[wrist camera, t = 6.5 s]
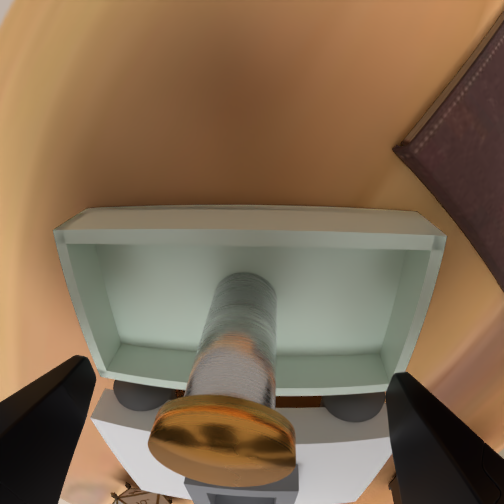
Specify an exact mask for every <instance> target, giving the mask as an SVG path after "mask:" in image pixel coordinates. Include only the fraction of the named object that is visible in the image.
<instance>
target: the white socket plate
mask: <svg viewBox="0 0 504 504" xmlns="http://www.w3.org/2000/svg"><path fill="white" fill-rule="evenodd" d="M113 389H114V390H110V389H106V388H105V390H104V392H103V394H102V395H101V397H100V399H99V401H98V403H97V405H96V407H95V409H94V411H93V413H92V415H91V417H90V418H91V420H92V421H93V423H94V425H95V426H96V428H97V429H98V431H99V432H100V434H101V435H102V437H103V439H104V440H105V442H106V443H107V444H108V446H109V447H110V449H111V450H112V452H113V453H114V455H115V456H116V457H117V459H118V460H119V462H120V463H121V464H122V466H123V467H124V468H125V470H126V471H127V472H128V474H129V475H130V476H131V478H132V479H133V480H134V481H135V483H136V484H137V485H138V486H139V488H140V489H141V490H144V491H148V492H153V493H157V494H162V495H167V496H172V497H178V498H184V499H190V500H193V502H194V504H339V503H348V502H355V501H356V500H357V499H358V498H359V497H360V495H361V494H362V493H363V492H364V490H365V489H366V488H367V487H368V485H369V484H370V483H371V482H372V480H373V479H374V478H375V476H376V475H377V474H378V472H379V471H380V470H381V468H382V467H383V465H384V464H385V463H386V461H387V460H388V458H389V457H390V456H391V454H392V449H391V444H390V436H389V426H388V416H387V407H386V403H384V402H385V391H384V392H374V393H361V394H346V395H324V396H322V398H321V403H320V407H317V408H275V411H277V412H279V413H280V414H282V415H283V416H284V417H285V418H287V419H288V420H289V421H290V423H291V424H292V425H293V427H294V429H295V434H296V466H295V468H294V470H293V471H292V473H291V474H289V475H288V476H287V477H285V478H283V479H281V480H279V481H276V482H273V483H270V484H266V485H260V486H252V487H228V486H219V485H213V484H208V483H203V482H199V481H196V480H193V479H190V478H187V477H184V476H182V475H180V474H177V473H175V472H173V471H172V470H170V469H168V468H166V467H165V466H164V465H162V464H161V463H160V462H158V461H157V460H156V459H155V458H154V457H153V455H152V454H151V453H150V451H149V448H148V439H149V436H150V433H151V430H152V427H153V424H154V421H155V418H156V415H157V413H158V411H159V409H160V408H161V407H162V406H163V405H164V404H166V403H167V402H169V401H171V400H173V399H176V398H177V397H176V392H175V389H172V388H164V387H157V386H150V385H144V384H138V383H132V382H126V381H120V380H115V381H114V386H113Z"/></svg>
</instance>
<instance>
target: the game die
mask: <svg viewBox="0 0 504 504" xmlns="http://www.w3.org/2000/svg"><path fill="white" fill-rule="evenodd" d="M125 486H126V487H127V488H128V489H127V490H126V491H125V492H123V493H122V494H121V495H119V496H117V494H115V493H111V497H113V498H115V500H114V502H113V504H171V503H172V500H170V499H169V500H168V499H167V498H166V497H165V496H164V495H162V494H157V493H153V492H148V491H144V490H141V489H133V488H131V486H130V484H128V483H127V482H126V485H125Z"/></svg>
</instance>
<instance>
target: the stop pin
mask: <svg viewBox="0 0 504 504" xmlns="http://www.w3.org/2000/svg"><path fill="white" fill-rule="evenodd" d="M276 339H277V296H276V292H275V290H274V288H273V286H272V285H271V284H270V283H269V282H268V281H267V280H266V279H265V278H263V277H261V276H259V275H257V274H254V273H249V272H239V273H234V274H231V275H229V276H227V277H225V278H224V279H222V280H221V281H220V282H219V284H218V285H217V287H216V290H215V293H214V296H213V299H212V303H211V306H210V309H209V312H208V316H207V319H206V322H205V326H204V329H203V332H202V336H201V339H200V342H199V346H198V349H197V352H196V356H195V359H194V363H193V366H192V369H191V373H190V376H189V380H188V383H187V387H186V390H185V394H184V397H180V398H176V399H173V400H171V401H169V402H167V403H166V404H164V405H163V406H162V407H161V408H160V409H159V411H158V413H157V415H156V418H155V421H154V424H153V427H152V430H151V433H150V436H149V439H148V448H149V451H150V453H151V454H152V455H153V457H154V458H155V459H156V460H157V461H158V462H160V463H161V464H162V465H164V466H165V467H166V468H168V469H170V470H172V471H173V472H175V473H177V474H180V475H182V476H184V477H187V478H190V479H193V480H196V481H199V482H203V483H208V484H213V485H219V486H228V487H252V486H260V485H266V484H270V483H273V482H276V481H279V480H281V479H283V478H285V477H287V476H288V475H289V474H291V473H292V471H293V470H294V468H295V466H296V434H295V429H294V427H293V425H292V424H291V423H290V421H289V420H288V419H287V418H285V417H284V416H283V415H282V414H280V413H279V412H277V411H275V399H276Z"/></svg>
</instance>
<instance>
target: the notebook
mask: <svg viewBox="0 0 504 504" xmlns="http://www.w3.org/2000/svg"><path fill="white" fill-rule="evenodd" d="M401 144H402V145H403V146H398V145H396V146H395V147H394V148H393V151H394V152H395V153H396V154H397V155H398V156H399V157H400V158H401V159H402V160H403V162H404V163H405V164H406V165H407V166H408V167H409V168H410V169H411V170H412V171H413V172H414V173H415V174H416V176H417V177H418V178H419V179H420V180H421V181H422V182H423V183H424V184H425V186H426V187H427V188H428V189H429V190H430V191H431V193H432V194H433V195H434V196H435V197H436V198H437V200H438V201H439V202H440V203H441V204H442V206H443V207H444V208H445V209H446V211H447V212H448V213H449V214H450V216H451V217H452V218H453V219H454V221H455V222H456V223H457V225H458V226H459V227H460V228H461V230H462V231H463V232H464V234H465V235H466V236H467V238H468V239H469V241H470V242H471V243H472V245H473V246H474V248H475V249H476V250H477V252H478V253H479V255H480V256H481V258H482V259H483V261H484V262H485V263H486V265H487V266H488V268H489V270H490V271H491V273H492V274H493V276H494V277H495V279H496V280H497V282H498V284H499V285H500V287H501V288H502V290H503V292H504V11H503V13H502V14H501V16H500V17H499V18H498V20H497V21H496V23H495V24H494V25H493V27H492V28H491V29H490V31H489V32H488V34H487V35H486V36H485V38H484V39H483V40H482V42H481V43H480V44H479V46H478V47H477V48H476V50H475V51H474V52H473V54H472V55H471V56H470V58H469V59H468V60H467V62H466V63H465V64H464V65H463V67H462V68H461V69H460V71H459V72H458V73H457V74H456V76H455V77H454V78H453V80H452V81H451V82H450V83H449V85H448V86H447V87H446V88H445V90H444V91H443V92H442V94H441V95H440V96H439V97H438V99H437V100H436V101H435V102H434V104H433V105H432V106H431V107H430V108H429V110H428V111H427V112H426V113H425V115H424V116H423V117H422V118H421V120H420V121H419V122H418V123H417V124H416V126H415V127H414V128H413V129H412V130H411V132H410V133H409V134H408V135H407V136H406V138H405V139H404V140H403V141H402V142H401Z"/></svg>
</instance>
